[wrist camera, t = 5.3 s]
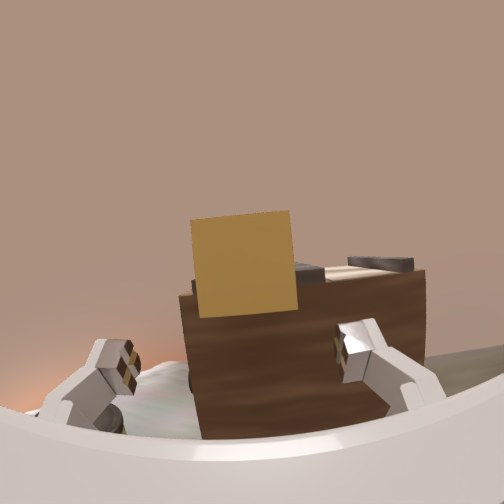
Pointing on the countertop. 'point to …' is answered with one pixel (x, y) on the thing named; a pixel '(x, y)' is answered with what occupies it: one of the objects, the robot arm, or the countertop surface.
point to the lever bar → (244, 264)
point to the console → (300, 351)
